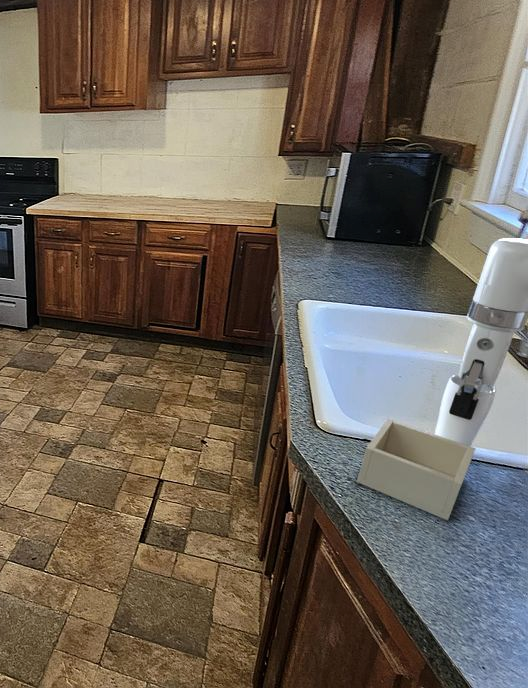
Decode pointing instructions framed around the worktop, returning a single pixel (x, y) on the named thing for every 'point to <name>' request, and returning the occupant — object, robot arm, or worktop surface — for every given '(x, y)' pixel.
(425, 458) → the beige open box
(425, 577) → the worktop surface
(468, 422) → the drinking glass
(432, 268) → the worktop surface
